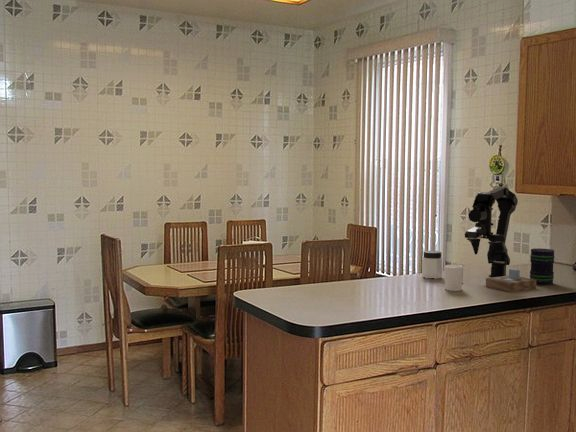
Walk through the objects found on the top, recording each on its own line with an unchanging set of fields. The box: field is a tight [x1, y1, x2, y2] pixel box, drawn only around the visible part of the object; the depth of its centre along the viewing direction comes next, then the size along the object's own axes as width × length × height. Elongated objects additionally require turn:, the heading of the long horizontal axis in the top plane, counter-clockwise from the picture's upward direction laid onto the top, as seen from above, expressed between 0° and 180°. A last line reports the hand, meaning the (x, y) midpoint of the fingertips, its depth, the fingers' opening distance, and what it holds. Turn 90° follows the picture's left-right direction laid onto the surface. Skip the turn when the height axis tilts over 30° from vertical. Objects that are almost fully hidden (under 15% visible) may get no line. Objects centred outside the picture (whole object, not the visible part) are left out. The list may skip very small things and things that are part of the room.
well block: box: [485, 275, 537, 293], centre depth 268 cm, size 16×13×4 cm
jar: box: [421, 250, 443, 280], centre depth 291 cm, size 9×8×12 cm
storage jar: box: [529, 247, 555, 287], centre depth 277 cm, size 10×10×15 cm
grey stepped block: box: [502, 268, 521, 281], centre depth 268 cm, size 6×4×7 cm, turn 118°
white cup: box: [443, 264, 465, 292], centre depth 263 cm, size 8×8×10 cm
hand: (483, 255), depth 279 cm, fingers open, 9 cm apart
